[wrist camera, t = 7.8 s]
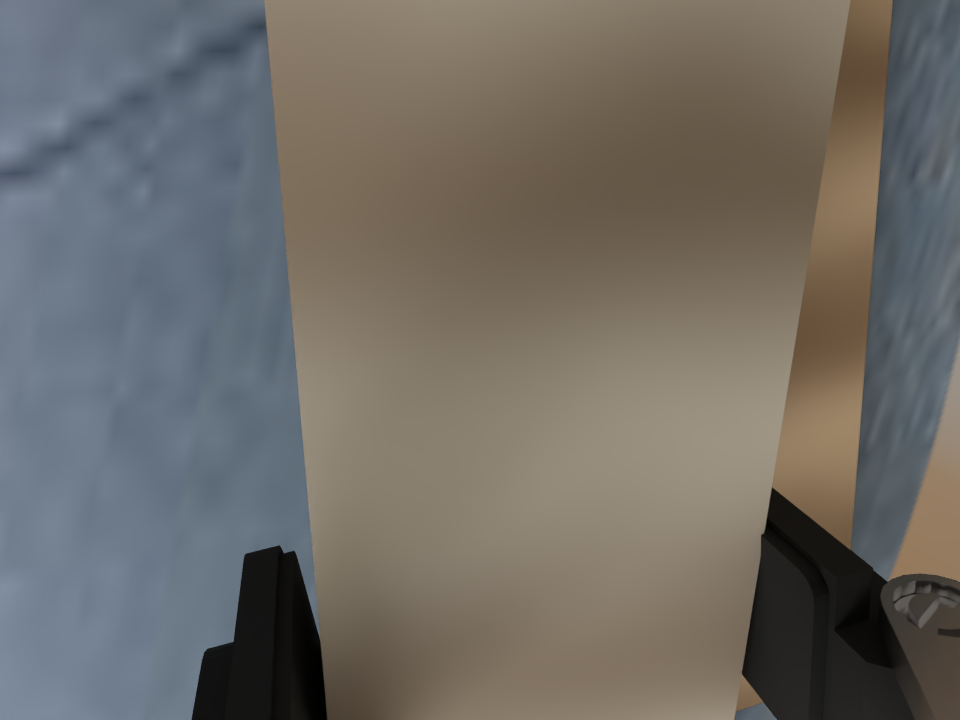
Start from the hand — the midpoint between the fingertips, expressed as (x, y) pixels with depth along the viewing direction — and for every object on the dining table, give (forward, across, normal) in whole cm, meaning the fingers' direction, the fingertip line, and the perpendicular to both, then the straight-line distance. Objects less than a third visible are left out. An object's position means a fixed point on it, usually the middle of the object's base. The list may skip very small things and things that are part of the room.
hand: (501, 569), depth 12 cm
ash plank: (+1, 0, 0) cm, 1 cm away
